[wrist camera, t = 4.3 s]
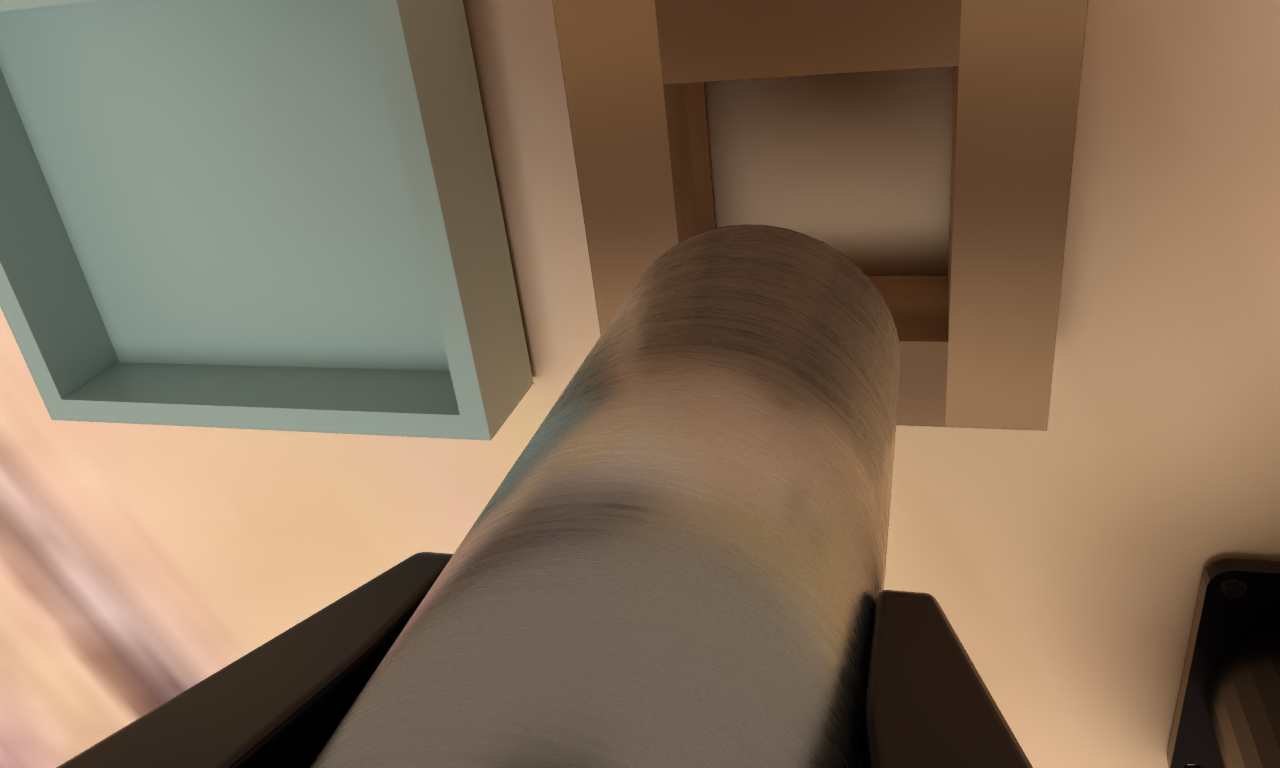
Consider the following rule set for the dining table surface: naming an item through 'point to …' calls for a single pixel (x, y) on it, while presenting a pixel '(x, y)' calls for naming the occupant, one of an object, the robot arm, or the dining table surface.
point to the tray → (255, 217)
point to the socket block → (845, 43)
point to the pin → (671, 540)
